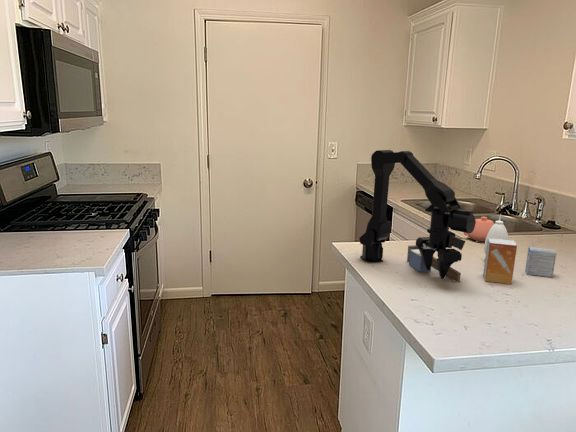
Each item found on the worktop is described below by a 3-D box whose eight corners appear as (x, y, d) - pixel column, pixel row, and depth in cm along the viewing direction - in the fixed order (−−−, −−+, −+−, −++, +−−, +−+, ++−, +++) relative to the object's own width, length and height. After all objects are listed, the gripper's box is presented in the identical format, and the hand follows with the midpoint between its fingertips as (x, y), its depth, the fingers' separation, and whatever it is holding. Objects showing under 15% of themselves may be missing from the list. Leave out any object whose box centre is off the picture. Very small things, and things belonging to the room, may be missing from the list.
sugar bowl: (502, 244, 194) (505, 220, 192) (468, 243, 194) (471, 219, 192) (490, 236, 206) (492, 214, 204) (458, 236, 206) (460, 213, 204)
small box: (484, 281, 150) (489, 242, 147) (482, 275, 156) (487, 237, 153) (512, 284, 147) (517, 245, 144) (509, 278, 153) (514, 240, 150)
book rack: (438, 283, 147) (439, 265, 146) (406, 261, 168) (408, 245, 167) (459, 281, 149) (461, 264, 147) (426, 260, 170) (427, 244, 168)
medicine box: (550, 273, 159) (554, 249, 157) (553, 277, 155) (556, 252, 153) (524, 270, 161) (528, 246, 159) (526, 274, 157) (530, 250, 155)
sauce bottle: (509, 262, 170) (515, 214, 166) (501, 267, 164) (508, 217, 161) (487, 257, 175) (493, 210, 171) (479, 262, 170) (485, 213, 166)
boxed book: (419, 272, 157) (421, 255, 156) (408, 264, 164) (410, 249, 163) (430, 271, 158) (432, 255, 157) (419, 264, 165) (420, 248, 164)
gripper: (479, 233, 140) (474, 282, 143) (447, 220, 158) (442, 264, 161) (446, 234, 138) (441, 284, 141) (416, 221, 156) (413, 265, 159)
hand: (435, 274), depth 151 cm, fingers open, 8 cm apart
